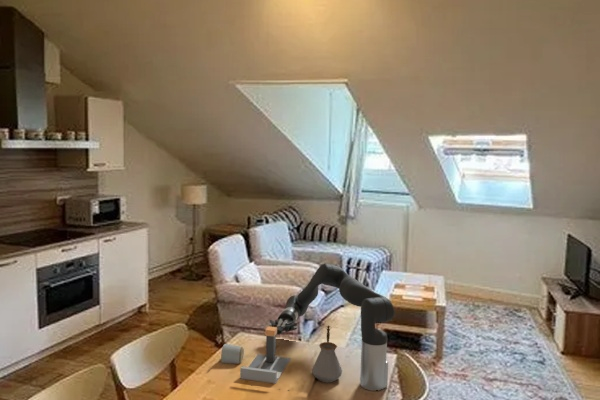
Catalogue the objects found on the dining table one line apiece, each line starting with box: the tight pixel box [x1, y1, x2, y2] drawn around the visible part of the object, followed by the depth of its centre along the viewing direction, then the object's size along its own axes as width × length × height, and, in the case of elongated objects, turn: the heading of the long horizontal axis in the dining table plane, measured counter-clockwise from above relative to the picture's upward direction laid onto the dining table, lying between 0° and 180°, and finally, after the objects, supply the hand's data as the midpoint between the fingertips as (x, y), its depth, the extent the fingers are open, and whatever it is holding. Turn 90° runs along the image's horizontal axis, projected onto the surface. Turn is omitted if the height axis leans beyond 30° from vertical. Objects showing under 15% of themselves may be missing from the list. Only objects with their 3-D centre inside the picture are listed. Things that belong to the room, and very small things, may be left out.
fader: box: [264, 325, 277, 363], centre depth 199 cm, size 4×4×13 cm
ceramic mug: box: [220, 343, 245, 365], centre depth 201 cm, size 11×8×8 cm
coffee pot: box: [311, 324, 343, 383], centre depth 193 cm, size 21×12×15 cm, turn 176°
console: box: [239, 353, 291, 385], centre depth 194 cm, size 22×14×5 cm, turn 167°
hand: (277, 332), depth 208 cm, fingers closed
